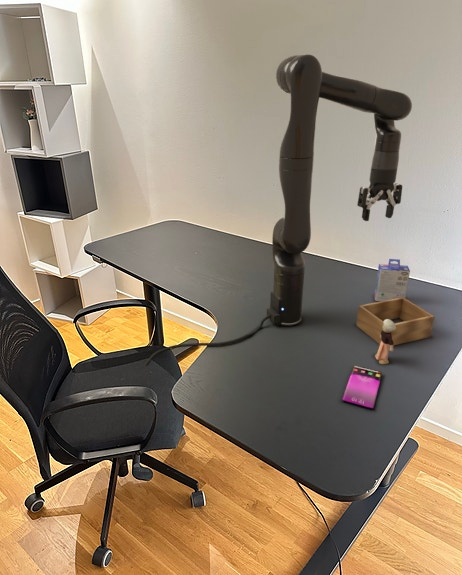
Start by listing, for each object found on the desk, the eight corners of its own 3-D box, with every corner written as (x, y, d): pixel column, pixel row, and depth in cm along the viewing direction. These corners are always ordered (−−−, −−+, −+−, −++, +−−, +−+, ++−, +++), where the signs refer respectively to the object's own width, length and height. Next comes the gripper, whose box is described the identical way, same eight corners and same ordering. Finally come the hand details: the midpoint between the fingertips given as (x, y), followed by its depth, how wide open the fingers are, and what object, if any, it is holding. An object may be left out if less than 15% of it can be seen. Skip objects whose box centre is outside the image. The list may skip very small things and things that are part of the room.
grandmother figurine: (368, 354, 123) (374, 314, 118) (380, 352, 124) (387, 312, 119) (384, 369, 116) (391, 328, 111) (396, 367, 117) (404, 326, 112)
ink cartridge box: (402, 297, 155) (409, 258, 149) (405, 304, 150) (412, 264, 144) (373, 294, 157) (379, 257, 151) (375, 301, 152) (381, 262, 146)
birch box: (384, 347, 126) (387, 326, 123) (356, 325, 138) (358, 305, 135) (430, 336, 131) (434, 316, 128) (399, 316, 143) (403, 297, 140)
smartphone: (381, 374, 114) (382, 371, 114) (372, 410, 102) (373, 407, 102) (353, 367, 117) (353, 365, 117) (341, 401, 105) (342, 398, 104)
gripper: (395, 162, 136) (388, 213, 143) (356, 165, 132) (350, 218, 139) (412, 166, 130) (403, 219, 137) (372, 170, 125) (365, 224, 132)
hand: (376, 219), depth 138 cm, fingers open, 8 cm apart
